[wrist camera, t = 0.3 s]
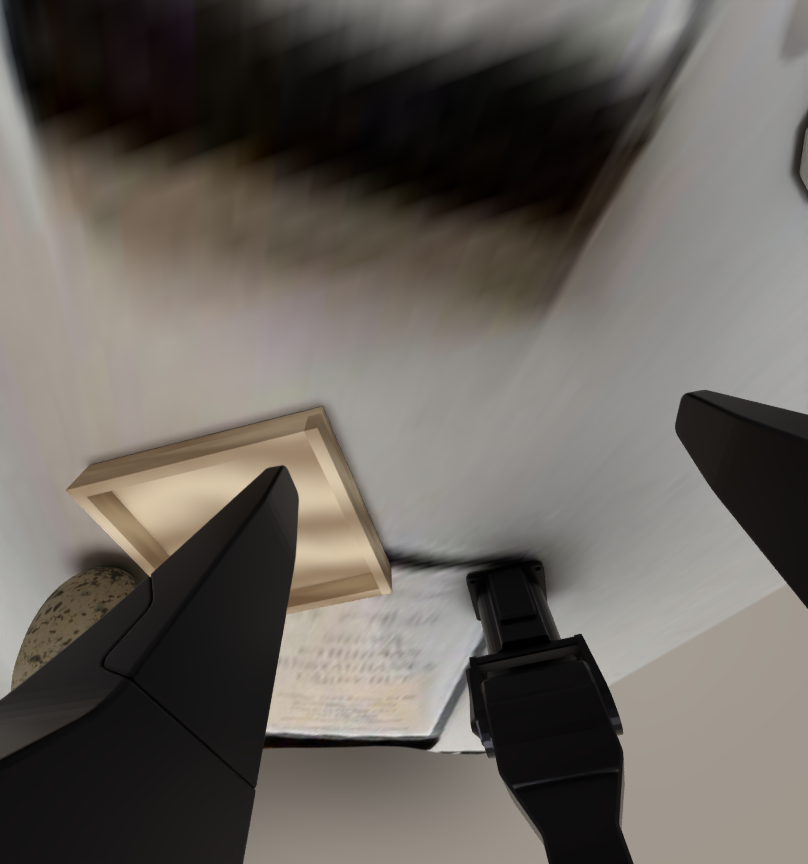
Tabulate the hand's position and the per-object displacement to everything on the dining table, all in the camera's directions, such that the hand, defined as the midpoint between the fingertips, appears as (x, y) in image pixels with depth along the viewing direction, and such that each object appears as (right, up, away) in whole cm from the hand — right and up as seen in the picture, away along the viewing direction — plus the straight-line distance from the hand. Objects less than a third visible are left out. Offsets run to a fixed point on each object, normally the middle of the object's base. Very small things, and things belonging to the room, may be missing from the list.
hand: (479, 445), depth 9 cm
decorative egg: (-25, -11, +23) cm, 36 cm away
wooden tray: (-12, -6, +21) cm, 25 cm away
